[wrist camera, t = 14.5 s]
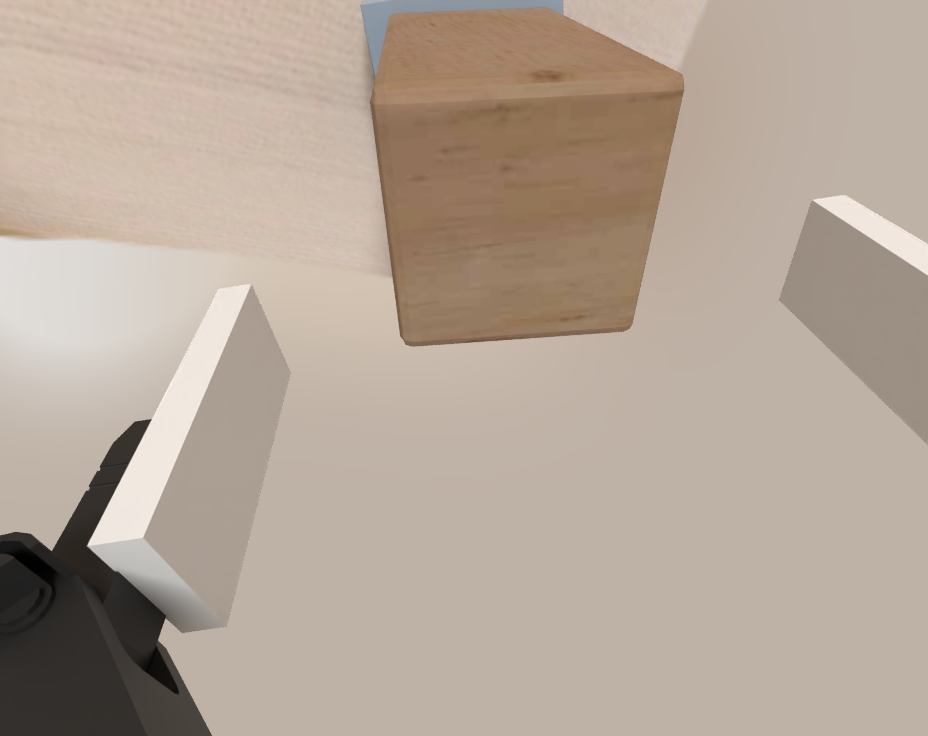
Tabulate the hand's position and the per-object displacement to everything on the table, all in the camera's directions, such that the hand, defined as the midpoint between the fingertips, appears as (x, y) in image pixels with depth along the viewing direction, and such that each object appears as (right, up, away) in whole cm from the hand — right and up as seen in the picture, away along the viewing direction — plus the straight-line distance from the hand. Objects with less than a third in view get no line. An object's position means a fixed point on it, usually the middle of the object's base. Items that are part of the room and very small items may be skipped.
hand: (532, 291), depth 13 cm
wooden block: (-1, +16, +22) cm, 27 cm away
